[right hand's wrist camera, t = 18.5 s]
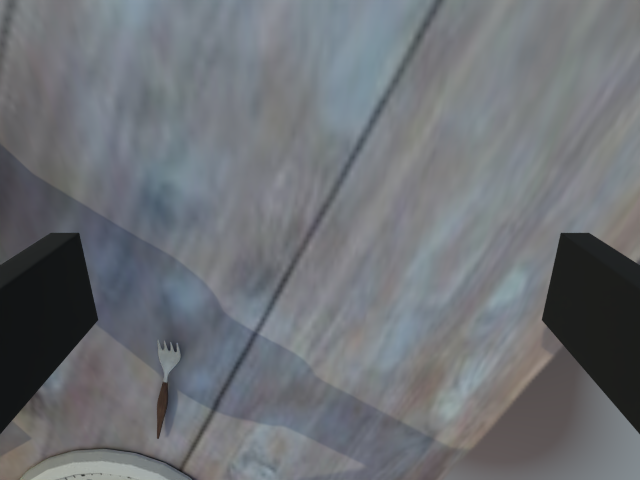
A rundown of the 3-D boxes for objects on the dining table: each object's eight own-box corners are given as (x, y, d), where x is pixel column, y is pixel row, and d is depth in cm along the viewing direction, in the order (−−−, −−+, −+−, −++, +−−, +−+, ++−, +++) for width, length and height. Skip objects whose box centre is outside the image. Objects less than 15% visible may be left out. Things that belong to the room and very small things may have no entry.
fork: (148, 433, 56) (142, 446, 54) (161, 328, 50) (155, 339, 48) (169, 437, 56) (164, 450, 54) (184, 333, 50) (179, 343, 48)
